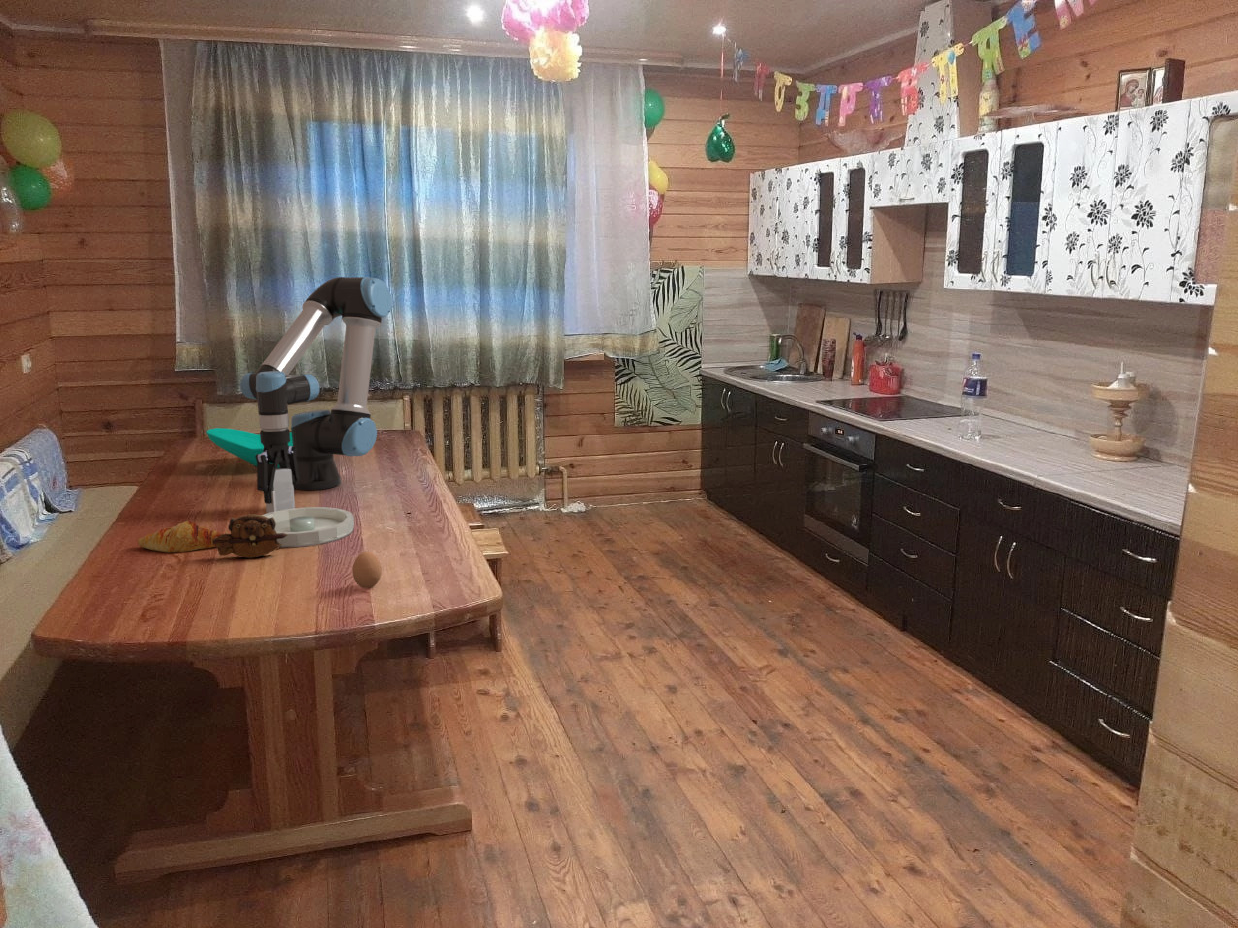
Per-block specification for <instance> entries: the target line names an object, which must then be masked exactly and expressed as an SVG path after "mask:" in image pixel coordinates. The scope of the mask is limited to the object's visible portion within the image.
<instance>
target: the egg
mask: <svg viewBox="0 0 1238 928" xmlns="http://www.w3.org/2000/svg"><path fill="white" fill-rule="evenodd" d="M351 573H352V577H353V580H354V582H355V583H356V584H357V586H359V587H362V588H365V589H370V588H373V587H374V586H376V585H377V584H378V582H379V581H380V580H381V577H382V565H381V562H380V560H379V559H378V557H377V555H375V554H374V553H372V552H371V551H363V552H361V553H359V554H358V555H357V556H356V557H355V559H354V562H353V564H352V572H351Z"/></svg>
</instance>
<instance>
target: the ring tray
mask: <svg viewBox="0 0 1238 928" xmlns="http://www.w3.org/2000/svg"><path fill="white" fill-rule="evenodd" d="M261 516H265V517H267V518H272V517H273V518H274V520H275V523H276V526H275V531H276V533H285V534H287V536H286V537H284V538H282V539H277V542H278V543H279V544H281V546H280V547H279V548H282V549H283V548H288V549H289V548H304V547H312V546H319V545H318V544H320V545H324V543H325V544H329V543H333V542H336V540H337V541H340V540H341V539H344V538H346V536H347V537H348V536H350V535H351V534H352V533H353V532H354V527H355V522H354V521H355V519H354V515H353V513H352V512H351V511H348V510H345V509H341V508H334V507H328V506H313V507H312V506H308V507H295V508H294V509H286V510H281V511H276V512H271V513H267V512H266V513H265V514H262V515H261ZM339 539H340V540H339ZM332 541H333V542H332ZM328 542H329V543H328Z"/></svg>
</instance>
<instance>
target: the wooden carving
mask: <svg viewBox="0 0 1238 928" xmlns="http://www.w3.org/2000/svg"><path fill="white" fill-rule="evenodd" d="M275 526H276V523H275V520H274V518H273V517H272V518H267V517H265V516H261V515H260V514H254V513H253V514H252V513H251V514H245V515H241V516H240V517H238V518H234V517H232V518H231V519H230V520H229V524H228V530H229V531H230V533H227V534H222V533H221V534H222V535H220V536H218V537H216V538H214V540H212V543H213V544H215V548H216V549H217V552H218V555H220V556H228V555H231V554H234V555H236V556H238V557H242V558H247V559H248V558H259V557H262V556H266V555H268V554H269V553H271V552H274V551H275V550H277V549H278V548H280V546H281V544H279V543H278V542H277V539H282V538H284V537H286V536H287V534H285V533H276V531H275Z"/></svg>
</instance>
